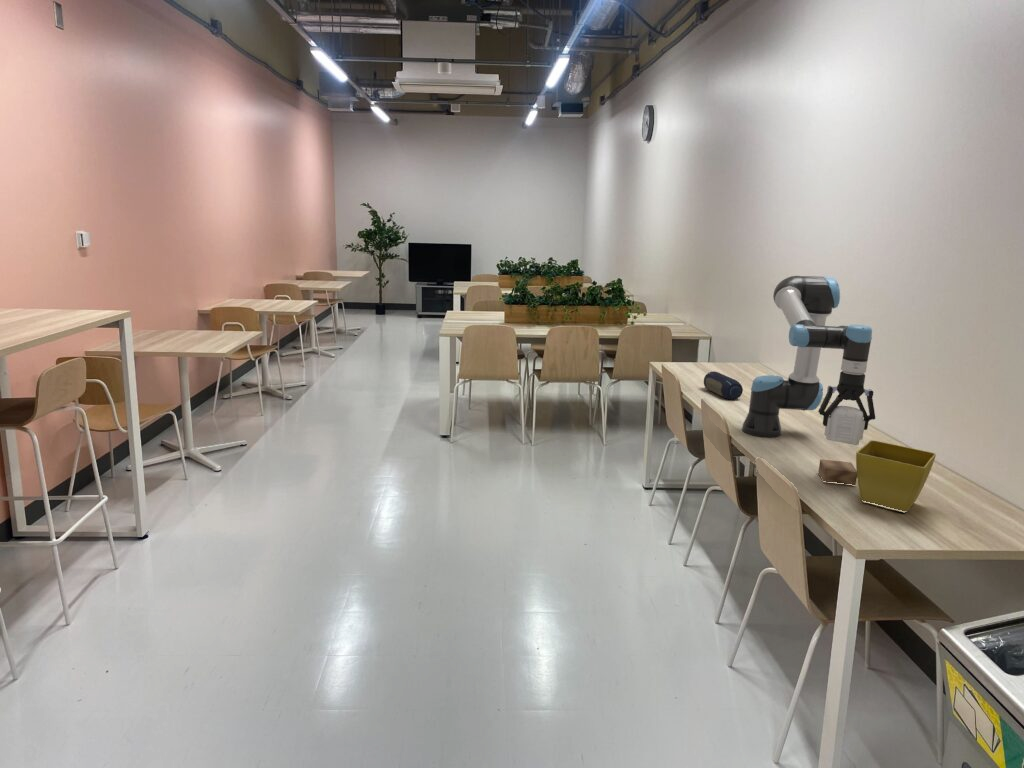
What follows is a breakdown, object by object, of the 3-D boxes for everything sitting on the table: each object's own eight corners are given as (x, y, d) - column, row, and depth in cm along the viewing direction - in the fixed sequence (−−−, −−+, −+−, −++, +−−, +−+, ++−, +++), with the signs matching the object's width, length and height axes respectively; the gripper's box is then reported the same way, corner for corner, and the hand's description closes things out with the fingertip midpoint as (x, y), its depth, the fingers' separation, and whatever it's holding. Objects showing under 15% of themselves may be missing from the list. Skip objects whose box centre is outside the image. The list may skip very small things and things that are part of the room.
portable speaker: (699, 389, 364) (701, 369, 362) (717, 388, 366) (719, 369, 364) (725, 402, 340) (727, 381, 338) (744, 401, 343) (746, 381, 340)
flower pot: (863, 486, 238) (871, 438, 234) (927, 502, 226) (936, 452, 222) (847, 503, 224) (855, 452, 220) (915, 521, 212) (924, 468, 208)
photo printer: (859, 443, 240) (865, 407, 237) (858, 446, 236) (864, 410, 233) (826, 437, 245) (831, 402, 242) (825, 440, 241) (830, 405, 238)
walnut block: (823, 482, 240) (825, 468, 239) (818, 472, 249) (820, 459, 248) (855, 486, 238) (857, 472, 237) (849, 476, 247) (851, 462, 246)
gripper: (818, 371, 234) (809, 436, 239) (893, 377, 229) (882, 443, 234) (814, 367, 241) (805, 430, 246) (887, 373, 236) (876, 437, 241)
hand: (843, 436), depth 240 cm, fingers closed on photo printer, 10 cm apart
